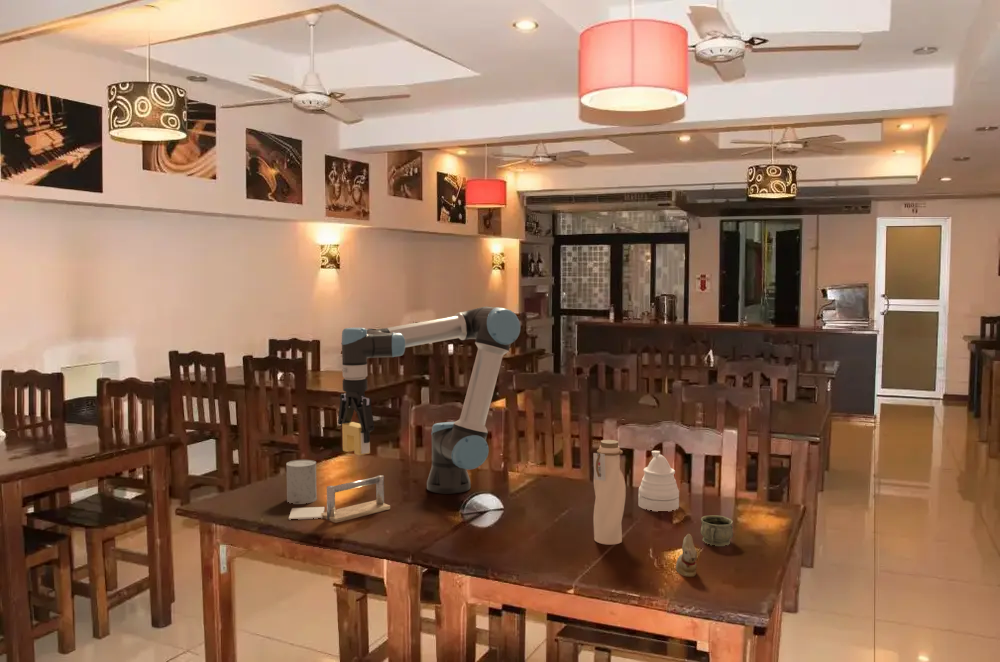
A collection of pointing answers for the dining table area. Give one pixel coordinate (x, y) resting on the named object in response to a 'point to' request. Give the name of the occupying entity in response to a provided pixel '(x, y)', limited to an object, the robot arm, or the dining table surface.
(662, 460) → the honey pot
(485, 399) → the robot arm
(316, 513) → the coaster
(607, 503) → the water bottle
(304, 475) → the grey speckled cylinder
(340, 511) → the rail stand
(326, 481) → the dining table surface
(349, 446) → the c link
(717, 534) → the vessel
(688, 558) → the chocolate bunny
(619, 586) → the dining table surface
